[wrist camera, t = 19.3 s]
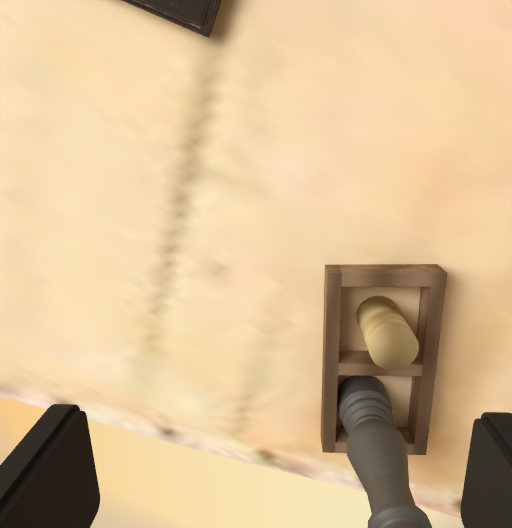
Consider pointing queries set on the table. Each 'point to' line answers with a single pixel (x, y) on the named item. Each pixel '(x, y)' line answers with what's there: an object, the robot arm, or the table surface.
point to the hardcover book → (183, 12)
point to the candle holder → (378, 453)
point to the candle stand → (383, 344)
